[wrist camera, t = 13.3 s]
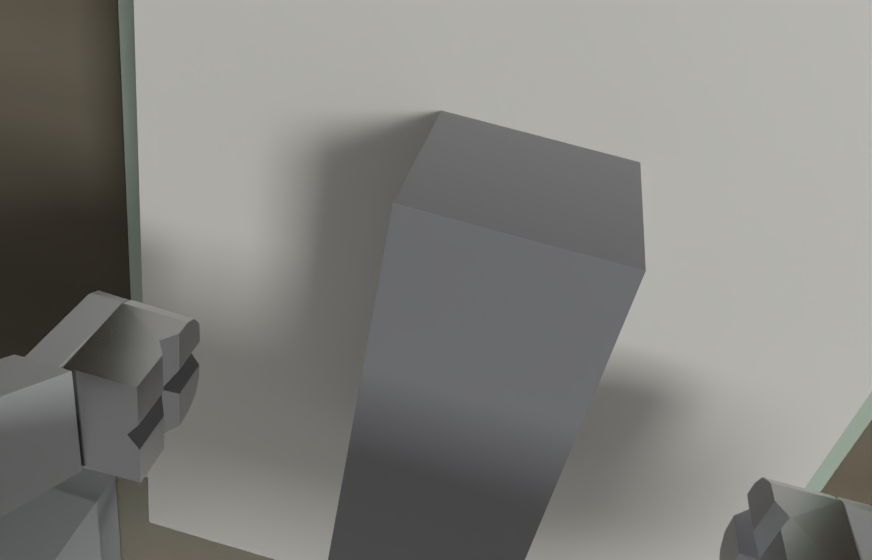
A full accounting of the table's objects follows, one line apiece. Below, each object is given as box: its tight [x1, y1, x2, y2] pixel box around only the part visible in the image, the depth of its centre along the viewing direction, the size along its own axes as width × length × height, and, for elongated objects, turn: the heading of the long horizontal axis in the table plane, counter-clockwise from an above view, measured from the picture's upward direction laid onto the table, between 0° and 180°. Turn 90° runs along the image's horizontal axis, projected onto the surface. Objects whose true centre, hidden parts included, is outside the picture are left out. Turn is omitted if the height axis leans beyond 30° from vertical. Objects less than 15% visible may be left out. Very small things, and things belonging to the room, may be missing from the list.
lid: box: [134, 0, 872, 560], centre depth 13 cm, size 17×13×5 cm
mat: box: [118, 0, 872, 492], centre depth 16 cm, size 20×16×1 cm
